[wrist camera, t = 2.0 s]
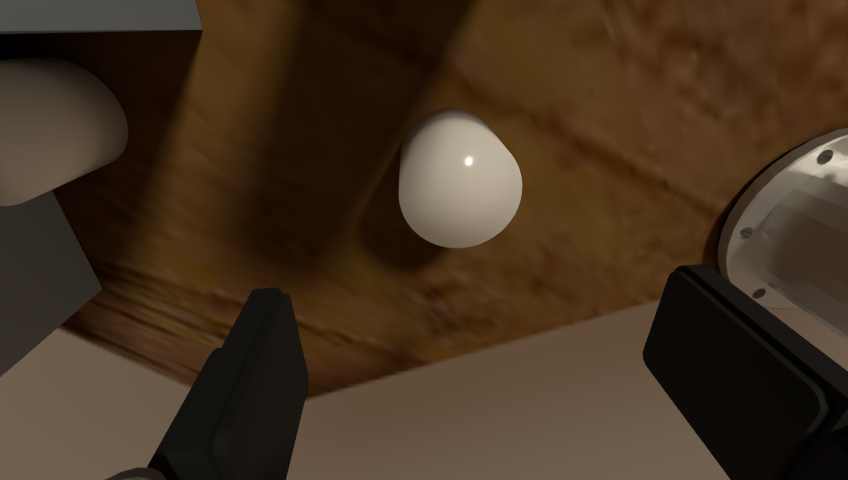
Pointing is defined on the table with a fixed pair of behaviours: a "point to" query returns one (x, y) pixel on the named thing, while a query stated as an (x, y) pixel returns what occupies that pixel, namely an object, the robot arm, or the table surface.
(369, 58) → the table surface
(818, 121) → the table surface
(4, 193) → the cream rounded knob
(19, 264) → the counter
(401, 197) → the cream smooth rounded cylinder
